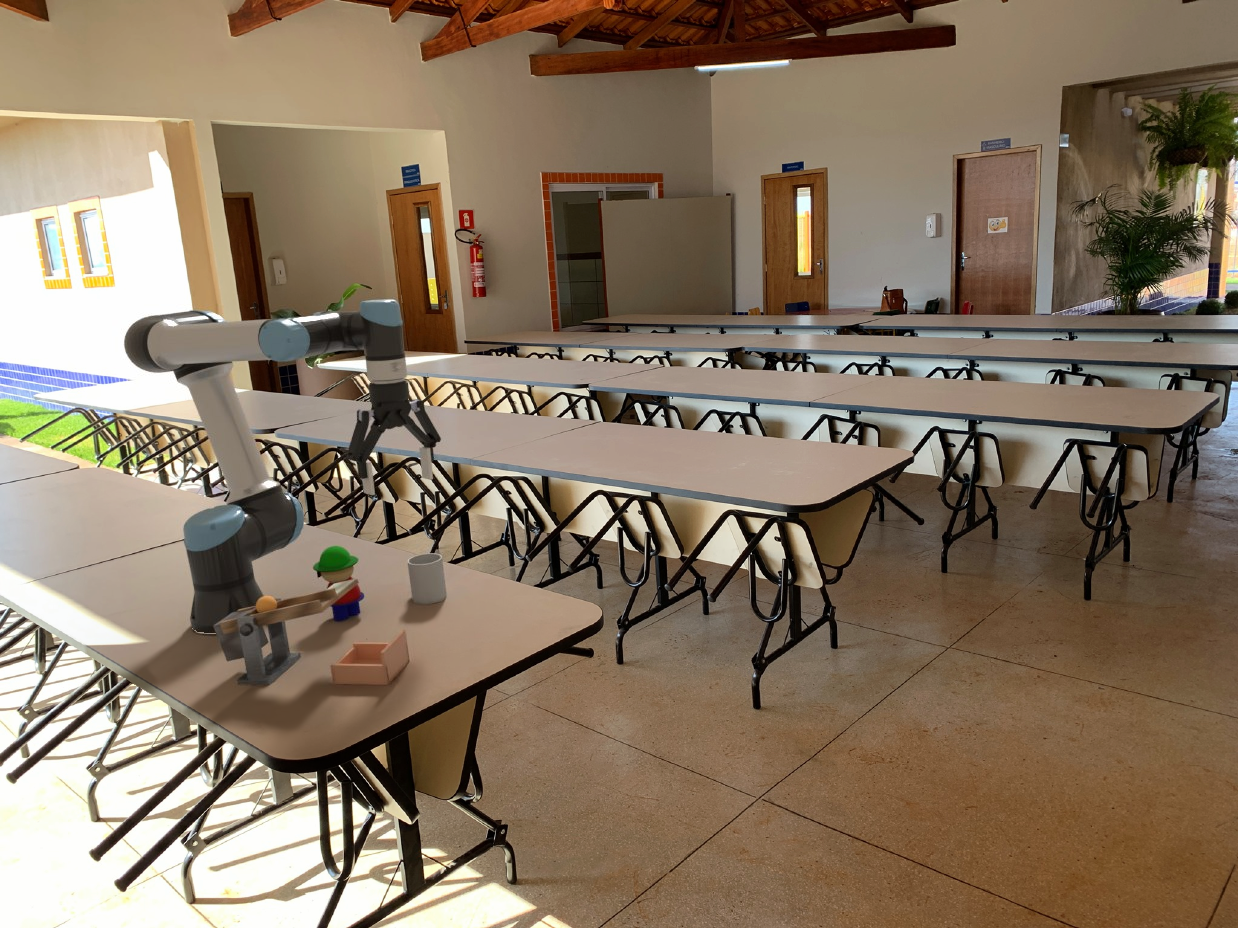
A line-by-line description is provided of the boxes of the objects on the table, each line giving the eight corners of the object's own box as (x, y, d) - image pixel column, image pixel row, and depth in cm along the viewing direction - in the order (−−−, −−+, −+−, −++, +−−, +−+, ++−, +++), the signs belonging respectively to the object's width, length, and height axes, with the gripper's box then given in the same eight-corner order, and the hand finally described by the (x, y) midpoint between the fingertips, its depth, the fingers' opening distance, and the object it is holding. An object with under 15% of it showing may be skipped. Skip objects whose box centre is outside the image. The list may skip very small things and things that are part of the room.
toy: (333, 628, 181) (322, 557, 178) (314, 617, 188) (303, 548, 184) (373, 613, 187) (363, 544, 184) (354, 604, 193) (344, 537, 190)
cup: (422, 607, 189) (417, 567, 187) (400, 596, 196) (395, 557, 194) (453, 597, 193) (448, 557, 191) (430, 586, 201) (425, 548, 199)
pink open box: (333, 683, 157) (328, 651, 156) (357, 659, 166) (352, 629, 164) (388, 684, 155) (383, 652, 154) (409, 660, 164) (405, 629, 163)
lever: (225, 662, 161) (210, 623, 160) (269, 629, 175) (255, 592, 174) (331, 640, 156) (316, 599, 155) (367, 607, 170) (354, 569, 169)
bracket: (237, 684, 159) (226, 620, 157) (271, 656, 170) (261, 596, 167) (268, 684, 158) (257, 620, 156) (300, 656, 169) (291, 596, 166)
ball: (256, 620, 160) (248, 602, 159) (267, 613, 163) (259, 595, 163) (273, 616, 159) (265, 598, 159) (283, 608, 163) (276, 590, 162)
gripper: (340, 391, 165) (353, 503, 170) (451, 373, 182) (461, 475, 187) (319, 388, 170) (333, 497, 175) (430, 370, 187) (439, 470, 193)
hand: (399, 486), depth 181 cm, fingers open, 13 cm apart
